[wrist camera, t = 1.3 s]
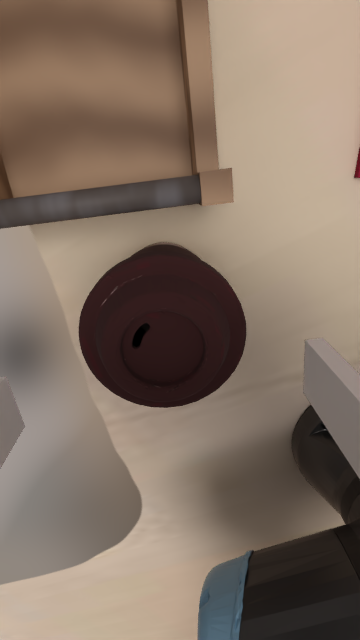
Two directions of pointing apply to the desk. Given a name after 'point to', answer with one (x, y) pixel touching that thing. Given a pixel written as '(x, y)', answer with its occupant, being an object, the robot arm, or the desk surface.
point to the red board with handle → (358, 167)
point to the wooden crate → (106, 109)
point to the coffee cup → (162, 328)
